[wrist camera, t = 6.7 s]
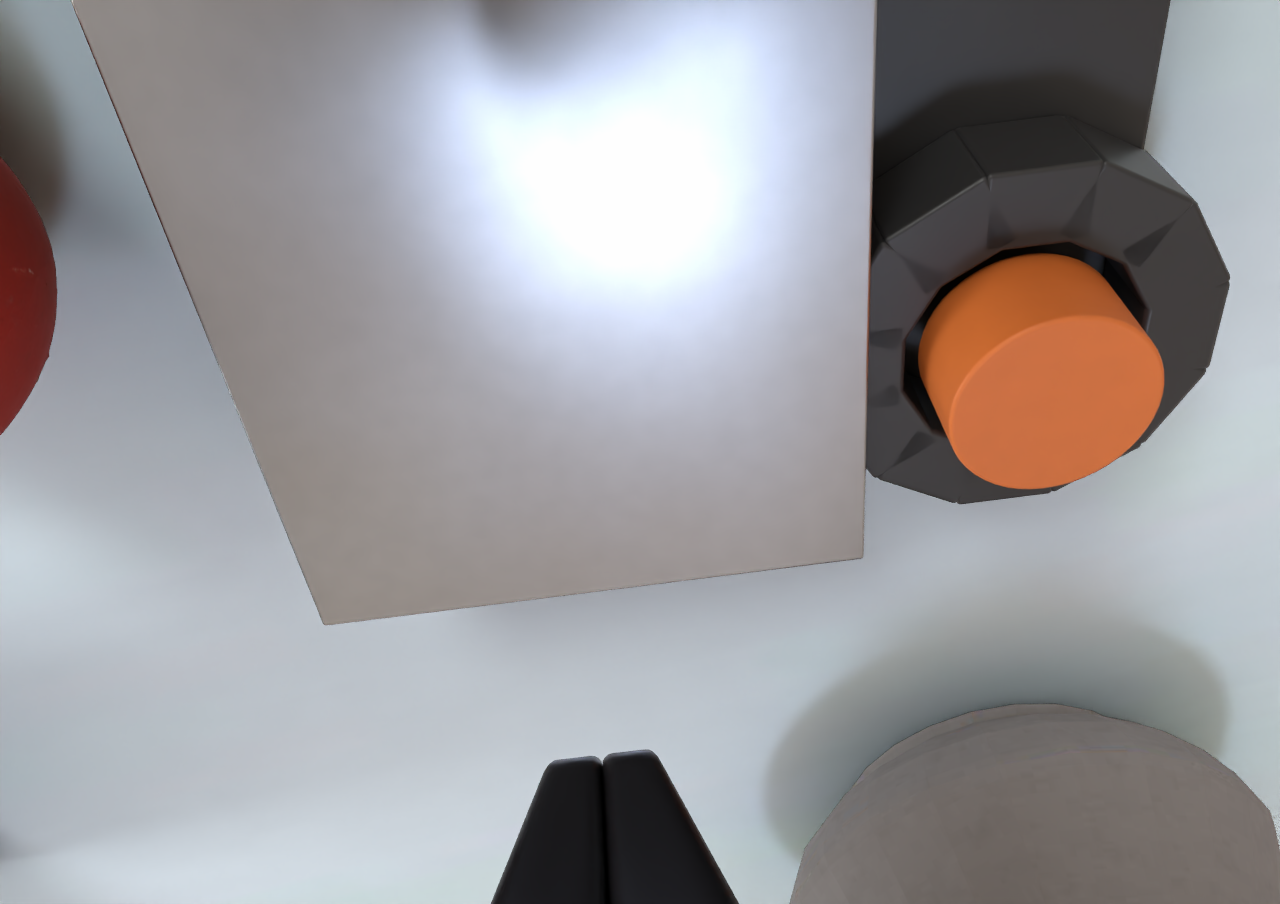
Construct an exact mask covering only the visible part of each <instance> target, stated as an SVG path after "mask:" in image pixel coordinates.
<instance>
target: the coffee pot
mask: <svg viewBox="0 0 1280 904" xmlns="http://www.w3.org/2000/svg"><path fill="white" fill-rule="evenodd" d="M790 904H1280V849H1279V844H1278V840H1277V836H1276V831H1275V827H1274V823H1273V819H1272V816H1271V813H1270V811H1269V810H1268V808H1267V807H1266V806H1265V805H1264V804H1263V803H1262V802H1261V800H1260V799H1259V798H1258V797H1257V796H1256V795H1255V794H1254V793H1253V792H1252V791H1251V790H1250V789H1249V787H1248V786H1247V785H1246V784H1245V783H1244V782H1243V781H1242V780H1241V779H1240V778H1239V777H1238V776H1237V775H1236V773H1234V772H1233V771H1232V770H1230V769H1229V768H1227V767H1226V766H1225V765H1223V764H1222V763H1221V762H1219V761H1218V760H1217V759H1215V758H1214V757H1212V756H1211V755H1210V754H1208V753H1207V752H1206V751H1204V750H1202V749H1200V748H1198V747H1196V746H1194V745H1192V744H1190V743H1188V742H1186V741H1183V740H1181V739H1179V738H1177V737H1175V736H1173V735H1171V734H1169V733H1167V732H1164V731H1162V730H1158V729H1155V728H1152V727H1148V726H1145V725H1142V724H1138V723H1135V722H1131V721H1125V720H1120V719H1114V718H1109V717H1105V716H1102V715H1100V714H1098V713H1096V712H1094V711H1091V710H1086V709H1081V708H1075V707H1070V706H1064V705H1059V704H1013V705H1007V706H1002V707H996V708H990V709H985V710H979V711H973V712H969V713H966V714H963V715H960V716H958V717H955V718H952V719H949V720H946V721H943V722H940V723H937V724H934V725H931V726H929V727H927V728H925V729H923V730H921V731H920V732H918V733H916V734H914V735H912V736H910V737H908V738H907V739H905V740H903V741H901V742H899V743H897V744H895V745H894V746H893V747H891V748H890V749H889V750H888V751H886V752H885V753H884V754H883V755H882V756H880V757H879V758H878V759H877V760H875V761H874V762H873V763H872V764H871V765H869V766H868V767H867V768H866V769H865V770H864V772H863V773H862V774H861V776H860V777H859V778H858V780H857V781H856V782H855V784H854V785H853V787H852V788H851V789H850V791H849V792H847V793H846V794H845V795H844V796H843V798H842V799H841V800H840V802H839V803H838V804H837V806H836V807H835V808H834V810H833V811H832V812H831V814H830V815H829V816H828V818H827V819H826V820H825V822H824V823H823V824H822V826H821V827H820V828H819V830H818V831H817V833H816V834H815V835H814V837H813V838H812V839H811V841H810V842H809V843H808V845H807V846H806V847H805V850H804V853H803V857H802V860H801V864H800V867H799V871H798V874H797V878H796V881H795V885H794V889H793V892H792V896H791V900H790Z"/></svg>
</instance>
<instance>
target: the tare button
mask: <svg viewBox="0 0 1280 904" xmlns="http://www.w3.org/2000/svg"><path fill="white" fill-rule="evenodd" d="M918 366H919V371H920V376H921V379H922V381H923V384H924V386H925V388H926V391H927V393H928V395H929V397H930V400H931V402H932V404H933V406H934V408H935V411H936V413H937V415H938V417H939V419H940V422H941V424H942V426H943V428H944V431H945V433H946V435H947V437H948V439H949V442H950V444H951V446H952V448H953V450H954V452H955V454H956V456H957V457H958V459H959V460H960V461H961V462H962V464H963V465H964V466H965V467H966V468H967V469H969V470H970V471H971V472H972V473H974V474H975V475H977V476H979V477H980V478H982V479H984V480H986V481H988V482H991V483H993V484H996V485H1000V486H1003V487H1008V488H1015V489H1041V488H1049V487H1054V486H1059V485H1063V484H1067V483H1070V482H1073V481H1076V480H1079V479H1081V478H1084V477H1086V476H1088V475H1090V474H1092V473H1095V472H1097V471H1098V470H1100V469H1102V468H1104V467H1105V466H1107V465H1109V464H1110V463H1111V462H1113V461H1114V460H1116V459H1117V458H1119V457H1120V456H1121V455H1122V454H1123V453H1125V452H1126V451H1127V450H1128V449H1129V448H1130V447H1131V446H1132V445H1133V444H1134V443H1135V442H1136V441H1137V440H1138V439H1139V438H1140V437H1141V436H1142V434H1143V433H1144V432H1145V430H1146V429H1147V428H1148V426H1149V425H1150V423H1151V421H1152V420H1153V418H1154V416H1155V414H1156V412H1157V410H1158V408H1159V405H1160V402H1161V399H1162V395H1163V389H1164V368H1163V363H1162V359H1161V356H1160V354H1159V351H1158V349H1157V348H1156V346H1155V345H1154V343H1153V342H1152V340H1151V339H1150V338H1149V336H1148V335H1147V334H1146V332H1145V331H1144V330H1143V328H1142V327H1141V326H1140V324H1139V323H1138V322H1137V320H1136V319H1135V318H1134V316H1133V315H1132V314H1131V312H1130V311H1129V310H1128V308H1127V307H1126V306H1125V304H1124V303H1123V302H1122V300H1121V299H1120V298H1119V296H1118V295H1117V294H1116V292H1115V291H1114V290H1113V288H1112V287H1111V286H1110V284H1109V283H1108V282H1107V281H1106V279H1105V278H1104V277H1103V276H1102V275H1101V274H1100V273H1099V272H1098V271H1097V270H1095V269H1094V268H1092V267H1091V266H1090V265H1088V264H1086V263H1084V262H1082V261H1080V260H1077V259H1074V258H1071V257H1068V256H1064V255H1058V254H1050V253H1034V254H1024V255H1019V256H1013V257H1010V258H1007V259H1003V260H1000V261H997V262H995V263H993V264H990V265H988V266H986V267H984V268H982V269H980V270H978V271H976V272H975V273H973V274H972V275H970V276H969V277H967V278H966V279H964V280H963V281H961V282H960V283H959V284H958V285H957V286H955V287H954V288H953V289H952V290H951V291H950V292H949V293H948V294H947V295H946V296H945V297H944V298H943V299H942V300H941V302H940V303H939V304H938V306H937V307H936V308H935V310H934V311H933V313H932V315H931V316H930V318H929V320H928V322H927V324H926V326H925V328H924V331H923V334H922V337H921V341H920V345H919V353H918Z"/></svg>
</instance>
